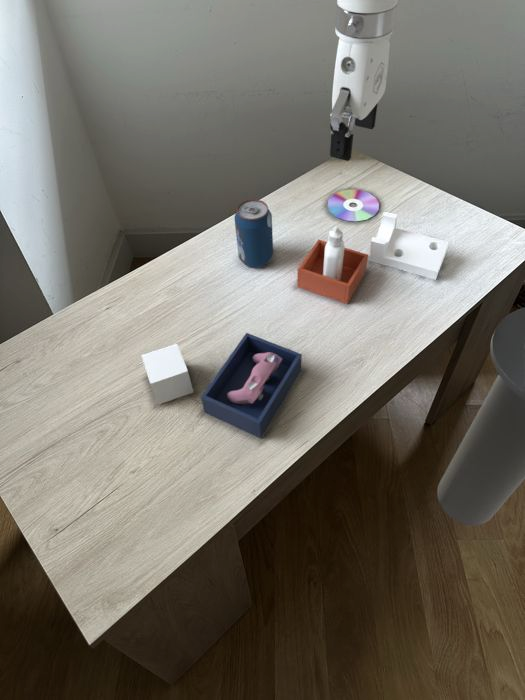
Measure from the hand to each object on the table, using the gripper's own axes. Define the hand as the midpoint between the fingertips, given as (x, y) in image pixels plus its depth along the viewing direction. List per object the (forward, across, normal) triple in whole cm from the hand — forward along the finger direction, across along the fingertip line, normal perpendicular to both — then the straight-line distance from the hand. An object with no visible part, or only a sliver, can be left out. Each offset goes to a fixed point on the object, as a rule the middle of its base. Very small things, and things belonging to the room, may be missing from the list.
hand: (352, 141), depth 81 cm
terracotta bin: (+26, -4, 0) cm, 27 cm away
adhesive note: (+26, -38, +14) cm, 48 cm away
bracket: (+26, +7, -11) cm, 30 cm away
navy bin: (+26, -33, +1) cm, 42 cm away
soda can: (+26, -5, +16) cm, 31 cm away
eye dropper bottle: (+26, -4, 0) cm, 26 cm away
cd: (+26, +19, +5) cm, 33 cm away
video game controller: (+26, -32, +1) cm, 41 cm away
